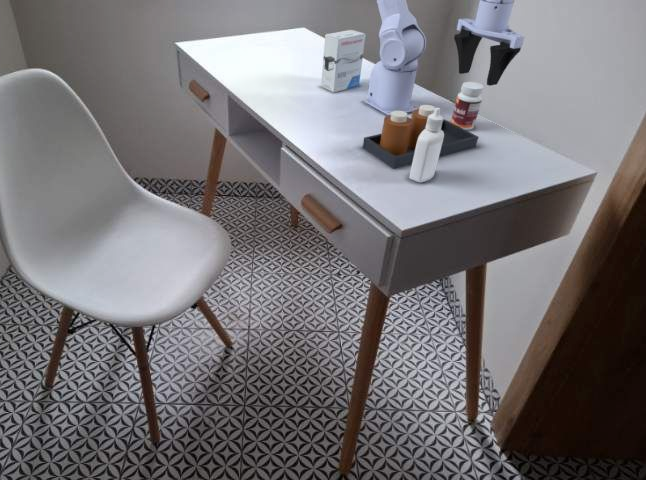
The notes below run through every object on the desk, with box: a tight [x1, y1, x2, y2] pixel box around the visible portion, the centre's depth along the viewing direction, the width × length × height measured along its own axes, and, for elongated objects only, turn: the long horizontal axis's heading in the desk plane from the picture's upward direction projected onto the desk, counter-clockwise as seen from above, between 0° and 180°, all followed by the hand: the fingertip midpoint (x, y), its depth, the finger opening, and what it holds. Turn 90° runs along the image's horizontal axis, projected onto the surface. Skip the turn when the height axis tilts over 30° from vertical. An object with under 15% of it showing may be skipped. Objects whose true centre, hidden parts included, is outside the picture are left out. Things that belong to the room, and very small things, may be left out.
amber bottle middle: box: [408, 104, 436, 149], centre depth 95 cm, size 5×5×7 cm
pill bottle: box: [450, 81, 484, 131], centre depth 104 cm, size 5×5×8 cm
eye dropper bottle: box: [408, 107, 444, 184], centre depth 85 cm, size 4×6×12 cm
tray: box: [362, 118, 479, 169], centre depth 97 cm, size 9×20×2 cm, turn 119°
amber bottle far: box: [380, 111, 413, 156], centre depth 93 cm, size 5×5×7 cm
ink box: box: [320, 29, 366, 93], centre depth 119 cm, size 8×5×12 cm, turn 128°
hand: (477, 78), depth 100 cm, fingers open, 7 cm apart
